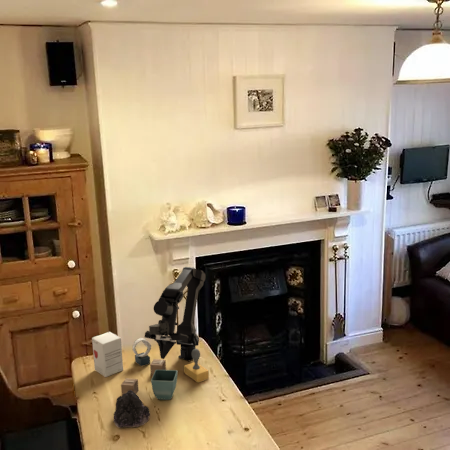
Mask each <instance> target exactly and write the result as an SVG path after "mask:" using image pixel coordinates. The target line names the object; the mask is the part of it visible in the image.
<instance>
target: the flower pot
mask: <svg viewBox="0 0 450 450" xmlns="http://www.w3.org/2000/svg"><path fill="white" fill-rule="evenodd" d="M178 372H179V371H178V370H176V369H166V370H155V372H154V374H153V376H151V379H150V384H151V389H152V393H153V395H154V397H155V398H156V399H157V400H165V401H166V400H168V401H169V400H171V399H172V398H173V395H174V393H175V390H176V387H177V383H178Z"/></svg>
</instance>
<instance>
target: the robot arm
mask: <svg viewBox="0 0 450 450" xmlns="http://www.w3.org/2000/svg"><path fill="white" fill-rule="evenodd" d="M205 281H206V273H205V272H204V271H203V270H201V269H198V268H197V269H196V268H195V267H194V266H193V267H191V266H183V268H182V270H181V272H180V274H179V275H178V277H177V278H176V279H175V280H174V282H173V283H171V284H168V285H167V286H166V287H165V288H164V289H163V290H162V293H161V294H160V296H159V298H158V300H157V301H156V302H155V303H154V305H153V311H154V314H155V315H158V316H161V319H159V320H158V322H157V323H156V324H151V325H148V330H146V331H145V332H144V337H143V338H145V339H146V338H147V339H150V340H154V341H155V342H156V343H157V345H158V348H159V355H160V359H161V360H165V359H166V357H167V355H168V354H169V352H170V350H171V349H172V348H173V347H174V346H175V344H176V345H177V346H180V348H179V349H180V351H179V352H180V355H178V358H179V359H181V360H184V361H188V362H191V361H193V358H192V350H193V349H197V348H196V347H197V346H199V343H200V337H199V336H198V335H197V328H196V327H195V325H194V322H195V316H196V310H197V303H198V298H199V292H200V291H201V289H202V287H203V286H204V284H205V283H204V282H205ZM186 288H187V292H186V293H187V294H186V299H185V306H184V310H183V311H184V312H183V318H182V321H181V323H180V324H178V322H177V317H178V310H180V306H179V304H180V303H181V302H182V301H183V299H184V297H185V296H184V291H185V289H186ZM176 326H177V327H176ZM176 328H177V329H176ZM175 329H176V332H175Z"/></svg>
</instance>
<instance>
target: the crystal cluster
mask: <svg viewBox="0 0 450 450" xmlns="http://www.w3.org/2000/svg"><path fill="white" fill-rule="evenodd" d="M150 417H151V411H150V409H149V407H148V406H147V405H144V403H143V401H142V400H141V398H140V397H139V395H138V394H135V393H134V392H133V391H132V390H130V391H128V392H127V393H124V394H123V395H122V394H121V395H120V396H118V397H117V398H116V402H115V410H114V413H113V423H114V425H115V427H117V428H137V427H138V428H139V427H140V426H143V425H145V424H146V423H147V422H149V420H150Z"/></svg>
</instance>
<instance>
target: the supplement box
mask: <svg viewBox="0 0 450 450" xmlns="http://www.w3.org/2000/svg"><path fill="white" fill-rule="evenodd" d="M91 343H92V353H93V364H94V366H93V367H94V371H96V372H97V373H99V375H102V376H103V377H104V378H107V377H110V376H112V375H114V374H117V373H119V372H122V371H124V364H123V360H124V359H123V351H122V350H123V349H122V347H123V346H122V337H120V336H118V335H117V334H116V333H113V332H111V331H107V332H105V333H103V334H100V335H96V336H95V335H94V336H93V337H91Z"/></svg>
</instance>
